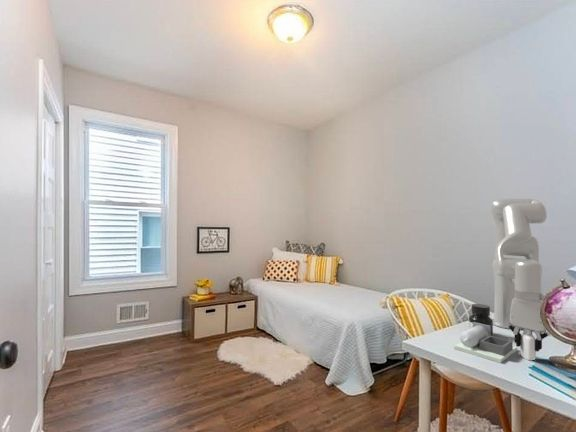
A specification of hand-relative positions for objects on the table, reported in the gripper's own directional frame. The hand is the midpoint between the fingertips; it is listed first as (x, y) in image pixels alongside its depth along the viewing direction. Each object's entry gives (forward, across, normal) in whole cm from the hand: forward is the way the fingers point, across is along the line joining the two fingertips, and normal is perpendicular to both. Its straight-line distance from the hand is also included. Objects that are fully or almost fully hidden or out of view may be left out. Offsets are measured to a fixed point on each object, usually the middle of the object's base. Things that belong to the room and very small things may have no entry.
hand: (528, 347), depth 111 cm
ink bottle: (+4, +20, -14) cm, 25 cm away
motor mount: (+4, +12, +4) cm, 13 cm away
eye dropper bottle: (+4, 0, 0) cm, 4 cm away
